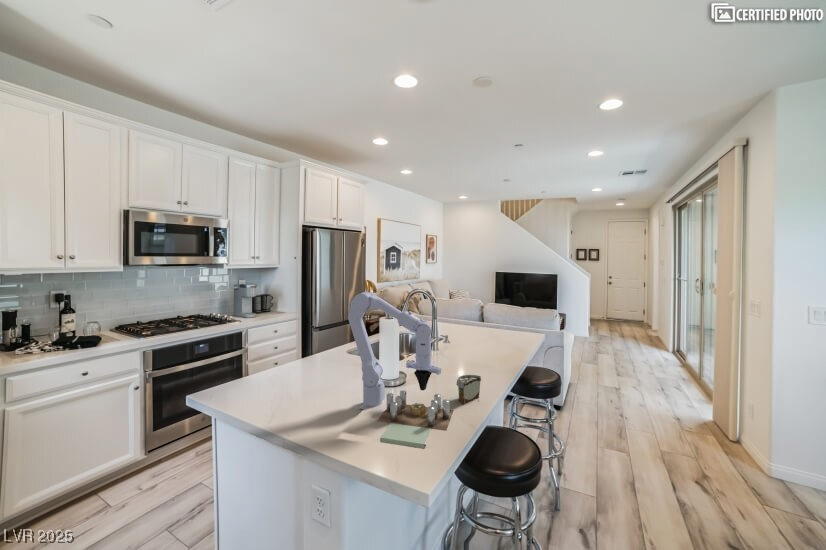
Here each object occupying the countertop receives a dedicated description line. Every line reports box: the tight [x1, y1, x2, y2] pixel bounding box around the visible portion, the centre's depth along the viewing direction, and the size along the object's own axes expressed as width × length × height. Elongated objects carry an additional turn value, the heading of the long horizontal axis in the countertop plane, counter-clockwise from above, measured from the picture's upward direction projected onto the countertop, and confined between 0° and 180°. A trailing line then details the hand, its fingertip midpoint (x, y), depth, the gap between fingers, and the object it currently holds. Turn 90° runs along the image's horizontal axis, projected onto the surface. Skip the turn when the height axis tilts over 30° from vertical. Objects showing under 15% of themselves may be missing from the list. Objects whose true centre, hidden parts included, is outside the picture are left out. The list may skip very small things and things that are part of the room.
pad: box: [379, 423, 432, 450], centre depth 112 cm, size 10×14×2 cm
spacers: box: [386, 389, 451, 427], centre depth 124 cm, size 13×23×6 cm, turn 75°
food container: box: [456, 374, 482, 405], centre depth 140 cm, size 12×6×10 cm, turn 134°
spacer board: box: [376, 403, 454, 431], centre depth 124 cm, size 16×24×2 cm, turn 75°
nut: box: [409, 402, 427, 416], centre depth 126 cm, size 6×5×3 cm
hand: (423, 389), depth 133 cm, fingers closed
